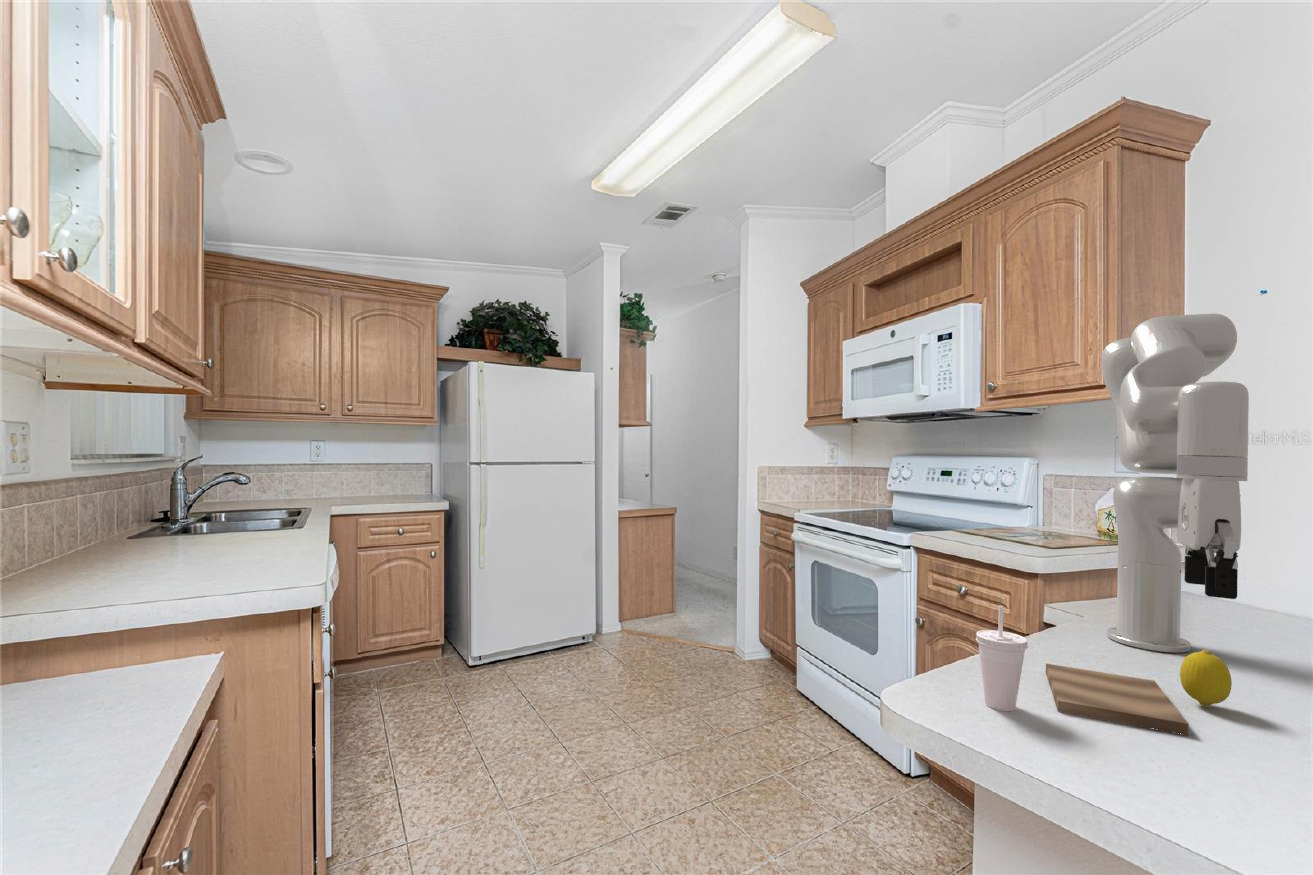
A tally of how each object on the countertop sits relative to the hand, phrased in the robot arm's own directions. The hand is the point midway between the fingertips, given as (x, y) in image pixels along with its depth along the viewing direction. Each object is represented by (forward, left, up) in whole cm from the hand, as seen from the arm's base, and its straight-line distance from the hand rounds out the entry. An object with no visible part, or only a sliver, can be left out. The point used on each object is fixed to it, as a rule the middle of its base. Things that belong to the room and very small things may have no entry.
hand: (1209, 590), depth 88 cm
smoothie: (+14, -26, -17) cm, 34 cm away
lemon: (-1, 0, -17) cm, 17 cm away
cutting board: (+4, -12, -17) cm, 21 cm away
